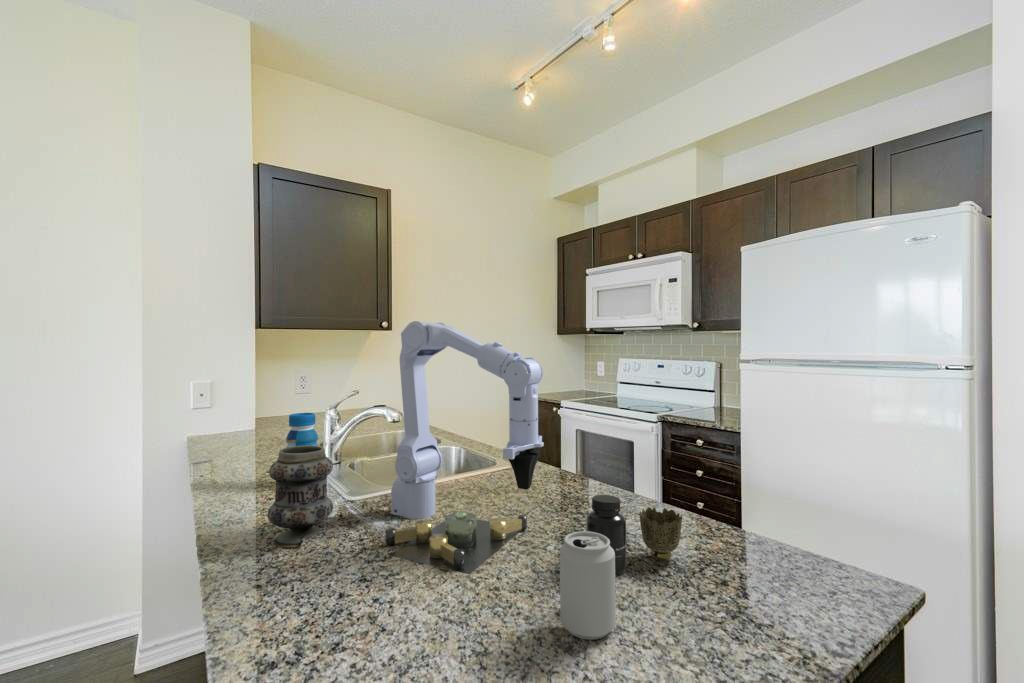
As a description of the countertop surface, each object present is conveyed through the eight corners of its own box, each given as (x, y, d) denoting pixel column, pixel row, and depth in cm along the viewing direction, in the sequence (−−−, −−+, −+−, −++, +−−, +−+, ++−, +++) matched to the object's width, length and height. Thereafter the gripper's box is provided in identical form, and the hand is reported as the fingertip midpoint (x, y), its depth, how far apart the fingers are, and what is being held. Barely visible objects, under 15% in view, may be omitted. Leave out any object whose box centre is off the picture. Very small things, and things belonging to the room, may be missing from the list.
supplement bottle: (627, 579, 78) (626, 506, 78) (585, 575, 79) (584, 503, 79) (625, 561, 85) (625, 493, 85) (587, 557, 86) (586, 491, 86)
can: (555, 612, 68) (555, 529, 68) (606, 610, 69) (605, 527, 69) (566, 645, 61) (565, 551, 61) (623, 641, 61) (622, 548, 62)
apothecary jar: (345, 532, 99) (345, 445, 99) (297, 555, 88) (297, 457, 88) (304, 523, 104) (304, 441, 104) (253, 544, 93) (253, 452, 93)
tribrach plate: (387, 561, 85) (387, 525, 85) (454, 520, 105) (454, 491, 105) (469, 581, 78) (469, 542, 78) (524, 533, 97) (524, 502, 97)
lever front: (426, 554, 84) (426, 537, 85) (441, 548, 87) (441, 532, 87) (454, 570, 78) (454, 552, 78) (470, 564, 80) (469, 547, 80)
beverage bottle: (310, 490, 128) (310, 416, 128) (279, 490, 128) (279, 416, 128) (323, 481, 136) (323, 412, 136) (294, 481, 136) (294, 412, 137)
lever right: (496, 541, 90) (496, 525, 90) (486, 536, 92) (486, 520, 92) (531, 529, 95) (530, 514, 95) (520, 525, 98) (520, 510, 98)
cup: (682, 552, 88) (682, 509, 88) (683, 570, 81) (682, 523, 81) (641, 547, 90) (640, 505, 91) (638, 563, 83) (637, 518, 84)
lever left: (430, 534, 93) (430, 519, 93) (433, 540, 90) (433, 525, 90) (385, 540, 90) (385, 525, 90) (386, 547, 87) (386, 531, 87)
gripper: (527, 426, 86) (527, 501, 85) (555, 415, 99) (555, 481, 99) (492, 423, 89) (493, 496, 88) (524, 413, 102) (524, 477, 102)
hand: (524, 488), depth 94 cm, fingers closed
